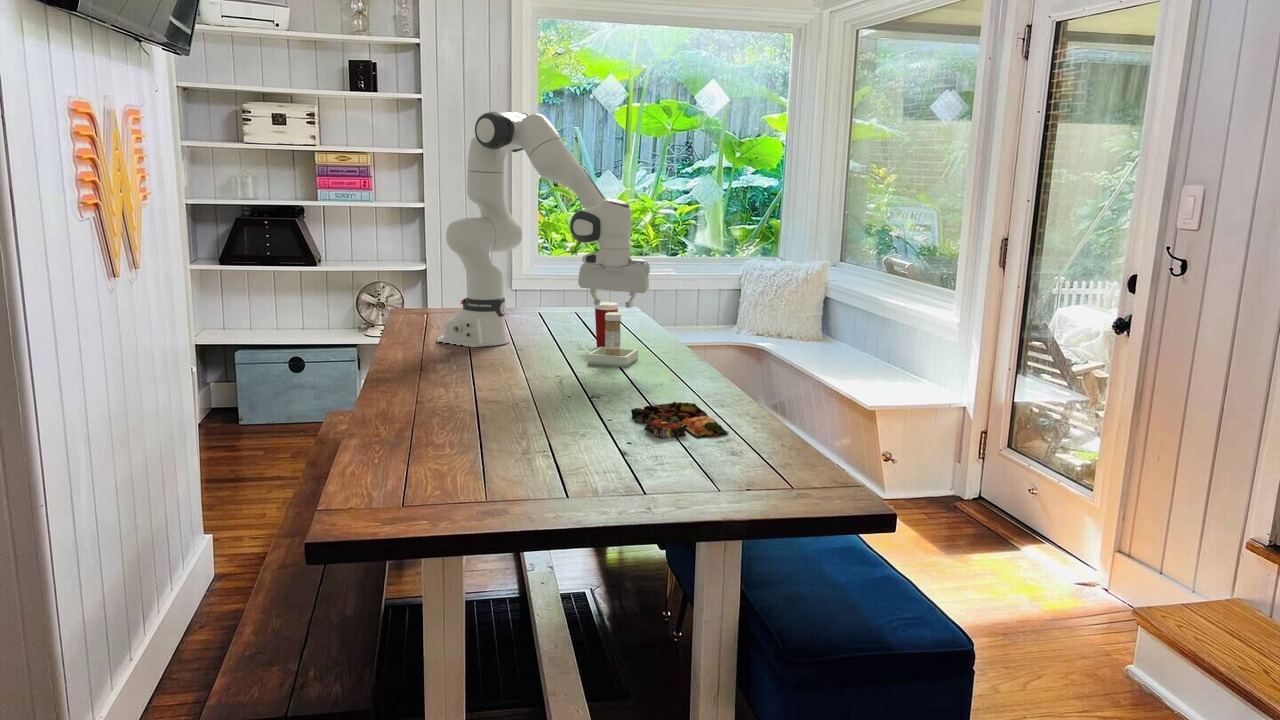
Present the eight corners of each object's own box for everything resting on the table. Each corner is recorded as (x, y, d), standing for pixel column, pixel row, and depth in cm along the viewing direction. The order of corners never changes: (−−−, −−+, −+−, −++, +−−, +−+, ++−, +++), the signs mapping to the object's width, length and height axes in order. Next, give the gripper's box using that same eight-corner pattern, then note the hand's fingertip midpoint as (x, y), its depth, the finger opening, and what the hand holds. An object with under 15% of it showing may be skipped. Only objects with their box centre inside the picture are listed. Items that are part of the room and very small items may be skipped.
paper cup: (617, 351, 282) (618, 305, 279) (592, 350, 282) (593, 305, 279) (618, 346, 290) (619, 301, 287) (594, 345, 290) (594, 301, 287)
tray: (587, 364, 263) (587, 354, 262) (600, 356, 274) (600, 346, 273) (626, 367, 260) (626, 357, 259) (637, 359, 271) (638, 349, 270)
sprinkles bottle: (616, 357, 270) (617, 311, 267) (623, 360, 266) (623, 314, 263) (602, 358, 268) (602, 312, 265) (608, 361, 264) (608, 314, 261)
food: (621, 416, 212) (622, 401, 211) (696, 412, 218) (697, 397, 218) (655, 444, 192) (656, 428, 191) (736, 438, 198) (737, 422, 198)
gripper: (652, 259, 261) (650, 307, 264) (584, 253, 266) (583, 301, 269) (647, 261, 255) (644, 311, 258) (577, 256, 260) (575, 304, 263)
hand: (612, 306), depth 264 cm, fingers open, 8 cm apart
